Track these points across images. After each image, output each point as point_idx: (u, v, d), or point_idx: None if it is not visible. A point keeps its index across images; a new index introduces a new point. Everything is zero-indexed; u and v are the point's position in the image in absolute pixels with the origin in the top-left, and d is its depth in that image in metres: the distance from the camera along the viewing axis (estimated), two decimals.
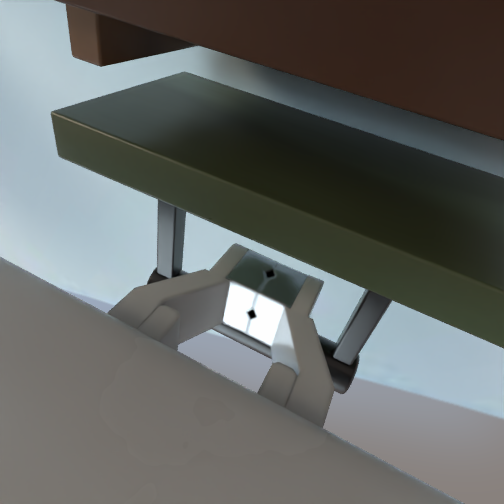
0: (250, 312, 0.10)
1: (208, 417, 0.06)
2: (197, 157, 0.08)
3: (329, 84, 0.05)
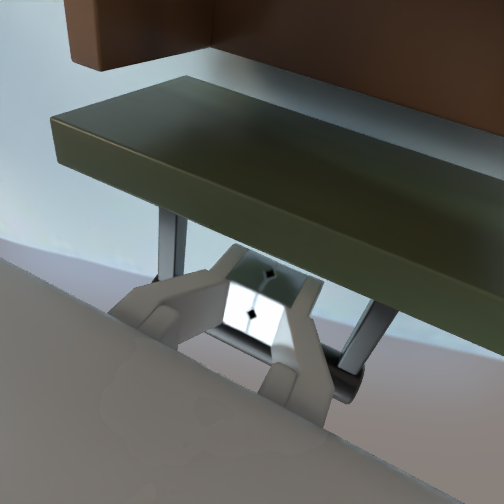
0: (250, 312, 0.10)
1: (208, 417, 0.06)
2: (200, 164, 0.08)
3: None
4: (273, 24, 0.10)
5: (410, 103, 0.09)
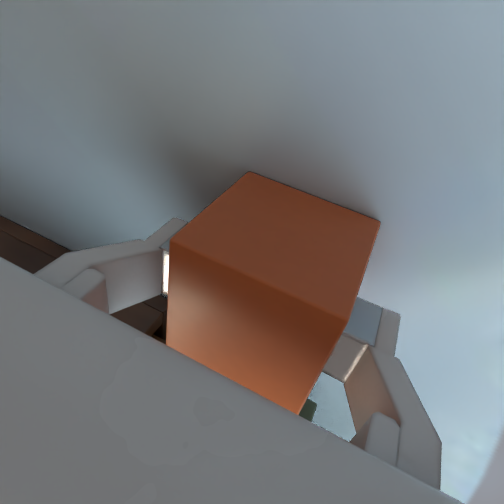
0: None
1: (208, 417, 0.06)
2: None
3: None
4: None
5: None
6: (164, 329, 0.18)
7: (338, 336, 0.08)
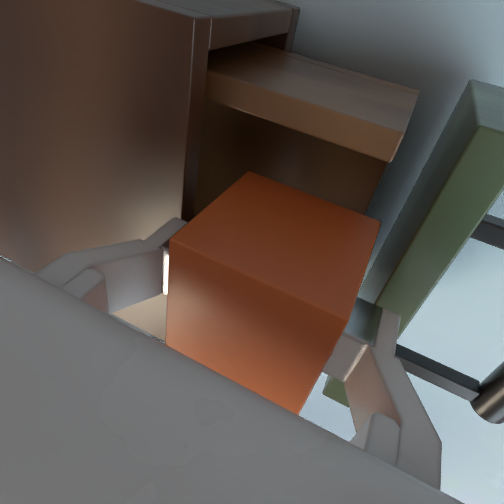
0: None
1: (208, 417, 0.06)
2: None
3: (184, 216, 0.12)
4: None
5: (376, 182, 0.14)
6: (286, 50, 0.14)
7: (338, 336, 0.08)
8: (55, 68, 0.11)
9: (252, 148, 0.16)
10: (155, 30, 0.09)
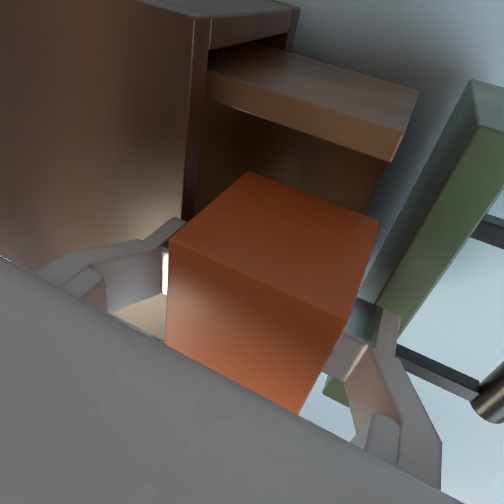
0: None
1: (208, 417, 0.06)
2: None
3: (184, 216, 0.12)
4: None
5: (376, 181, 0.14)
6: (286, 50, 0.14)
7: (338, 336, 0.08)
8: (55, 68, 0.11)
9: (252, 148, 0.16)
10: (155, 30, 0.09)
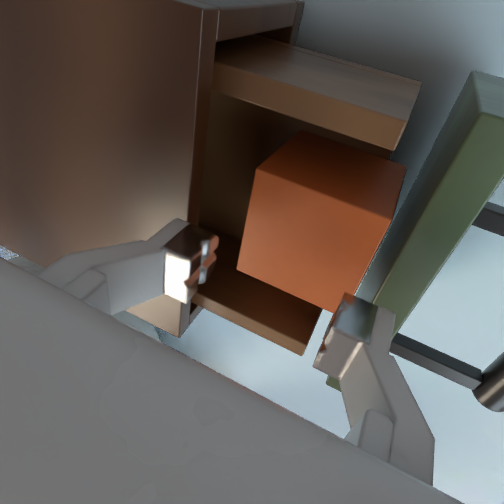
0: (187, 282, 0.11)
1: (208, 417, 0.06)
2: None
3: (191, 207, 0.12)
4: None
5: None
6: (290, 43, 0.14)
7: (383, 234, 0.11)
8: (64, 61, 0.11)
9: (256, 141, 0.16)
10: (164, 21, 0.09)
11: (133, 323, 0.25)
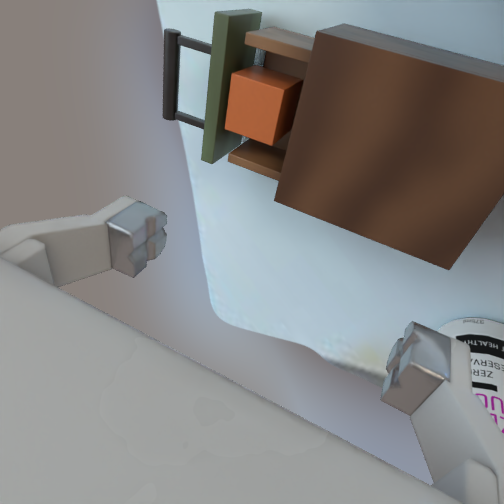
0: (133, 256, 0.11)
1: (208, 417, 0.06)
2: (225, 72, 0.28)
3: (290, 137, 0.27)
4: (274, 65, 0.30)
5: None
6: None
7: (225, 122, 0.30)
8: (333, 197, 0.28)
9: None
10: (286, 200, 0.30)
11: None
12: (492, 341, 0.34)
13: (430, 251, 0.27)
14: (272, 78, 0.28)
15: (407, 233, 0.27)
